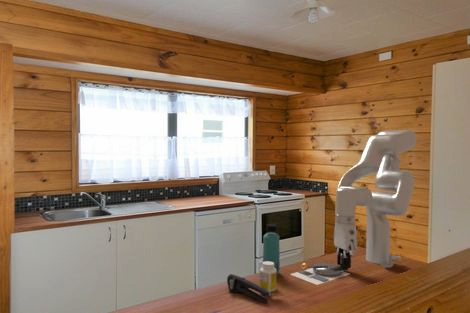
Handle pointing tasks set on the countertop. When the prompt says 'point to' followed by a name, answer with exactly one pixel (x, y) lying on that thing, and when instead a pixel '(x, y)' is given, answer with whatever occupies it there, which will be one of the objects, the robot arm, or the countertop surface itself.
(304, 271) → the stand
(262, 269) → the supplement bottle
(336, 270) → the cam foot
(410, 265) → the countertop surface
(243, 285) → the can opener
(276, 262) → the beverage bottle
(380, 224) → the robot arm
